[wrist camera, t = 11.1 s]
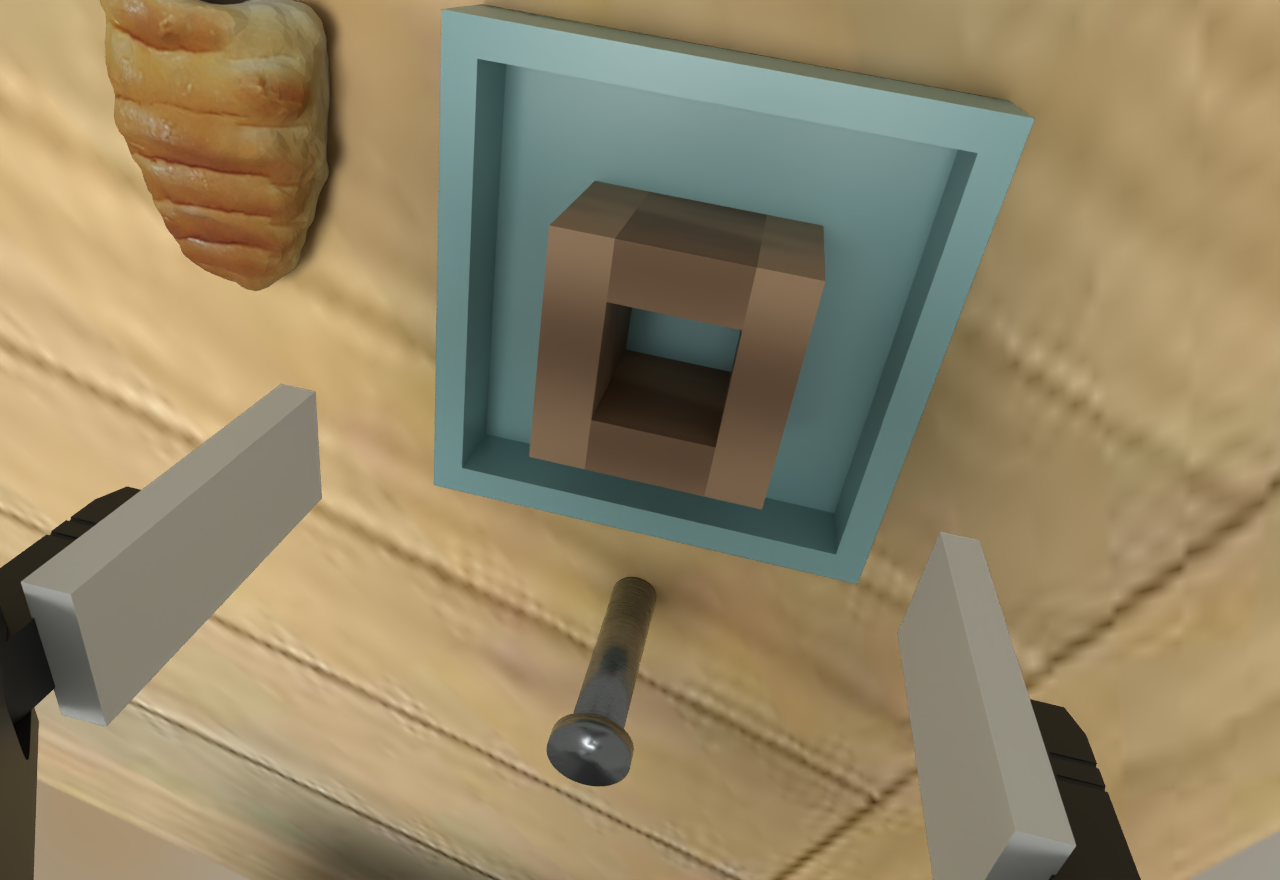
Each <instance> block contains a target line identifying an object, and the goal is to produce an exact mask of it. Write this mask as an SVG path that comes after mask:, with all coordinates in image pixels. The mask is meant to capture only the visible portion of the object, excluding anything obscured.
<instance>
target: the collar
mask: <svg viewBox="0 0 1280 880" xmlns="http://www.w3.org/2000/svg"><path fill="white" fill-rule="evenodd" d="M824 285H825V256H824V227H823V226H822V225H817V224H812V223H807V222H802V221H797V220H792V219H787V218H782V217H776V216H771V215H766V214H761V213H756V212H751V211H746V210H741V209H736V208H731V207H726V206H720V205H715V204H710V203H705V202H700V201H695V200H690V199H685V198H680V197H675V196H670V195H665V194H659V193H654V192H649V191H644V190H639V189H634V188H629V187H624V186H619V185H614V184H609V183H603V182H598V181H594V182H593V183H592V184H591V185H590V186H589V187H588V188H587V189H586V190H585V191H584V192H583V193H582V194H581V195H580V196H579V197H578V198H577V199H576V200H575V201H574V202H573V203H572V204H571V205H570V206H569V207H568V208H567V209H566V210H565V211H563V212H562V213H561V214H560V215H559V216H558V217H557V218H556V219H555V220H554V221H553V222H552V223H551V224H550V225H549V234H548V245H547V257H546V268H545V280H544V291H543V303H542V314H541V326H540V337H539V349H538V360H537V372H536V383H535V395H534V407H533V418H532V430H531V441H530V453H529V457H532V458H537V459H541V460H545V461H550V462H554V463H559V464H563V465H567V466H572V467H576V468H581V469H585V470H589V471H594V472H598V473H603V474H607V475H612V476H616V477H620V478H625V479H629V480H634V481H638V482H642V483H647V484H651V485H656V486H660V487H664V488H669V489H673V490H678V491H682V492H686V493H691V494H695V495H700V496H704V497H708V498H713V499H717V500H722V501H726V502H730V503H735V504H739V505H744V506H748V507H752V508H757V509H761V510H762V508H763V504H764V500H765V497H766V493H767V490H768V486H769V482H770V479H771V475H772V472H773V468H774V464H775V461H776V457H777V454H778V450H779V447H780V443H781V439H782V436H783V432H784V429H785V425H786V421H787V418H788V414H789V411H790V407H791V403H792V400H793V396H794V393H795V389H796V385H797V382H798V378H799V375H800V371H801V367H802V364H803V360H804V357H805V353H806V349H807V346H808V342H809V339H810V335H811V331H812V328H813V324H814V321H815V317H816V313H817V310H818V306H819V303H820V299H821V295H822V292H823V288H824ZM632 307H633V308H637V309H642V310H647V311H652V312H656V313H661V314H666V315H671V316H676V317H680V318H685V319H690V320H695V321H700V322H704V323H709V324H714V325H719V326H723V327H728V328H733V329H738V330H741V331H740V335H739V339H738V344H737V348H736V353H735V357H734V361H733V366H732V370H731V372H729V371H724V370H720V369H715V368H710V367H706V366H701V365H696V364H692V363H687V362H682V361H678V360H673V359H668V358H664V357H659V356H654V355H649V354H645V353H640V352H635V351H631V350H626V345H627V338H628V332H629V325H630V318H631V311H632Z"/></svg>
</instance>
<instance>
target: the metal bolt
mask: <svg viewBox="0 0 1280 880" xmlns="http://www.w3.org/2000/svg"><path fill="white" fill-rule="evenodd" d="M655 602H656V593H655V590H654V589H653V587H652V586H651V585H650V584H649V583H647V582H646V581H644V580H642V579H639V578H624V579H622V580H620V581H619V582H617V583H616V585H615V586H614V589H613V592H612V595H611V598H610V602H609V605H608V608H607V611H606V614H605V617H604V620H603V623H602V626H601V629H600V633H599V636H598V639H597V642H596V645H595V648H594V651H593V654H592V657H591V660H590V664H589V667H588V670H587V673H586V676H585V679H584V682H583V685H582V688H581V691H580V695H579V698H578V701H577V704H576V707H575V710H574V713H573V714H570V715H567V716H565V717H563V718H561V719H560V720H559V721H557V722H556V724H555V725H554V727H553V729H552V732H551V735H550V738H549V741H548V744H547V755H548V758H549V760H550V762H551V763H552V765H553V766H554V767H555V768H556V769H557V770H558V771H559V772H560V773H561V774H563V775H564V776H566V777H567V778H569V779H571V780H573V781H575V782H578V783H581V784H585V785H590V786H608V785H612V784H615V783H618V782H619V781H621V780H622V779H624V778H625V777H626V775H627V774H628V772H629V769H630V765H631V761H632V756H633V751H634V747H633V742H632V740H631V738H630V736H629V735H628V733H627V732H626V731H625V730H624V726H625V722H626V718H627V714H628V710H629V706H630V702H631V698H632V694H633V690H634V686H635V682H636V678H637V674H638V670H639V666H640V662H641V658H642V654H643V650H644V646H645V642H646V638H647V634H648V630H649V626H650V622H651V618H652V614H653V610H654V606H655Z"/></svg>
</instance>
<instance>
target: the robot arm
mask: <svg viewBox="0 0 1280 880" xmlns="http://www.w3.org/2000/svg"><path fill="white" fill-rule="evenodd" d="M321 499H322V493H321V476H320V459H319V442H318V425H317V408H316V391H311V390H307V389H302V388H298V387H293V386H289V385H284V384H280V385H279V386H278V387H276V388H275V389H274V390H273V391H271V392H270V393H269V394H267V395H266V396H265V397H263V398H262V399H261V400H259V401H258V402H257V403H255V404H254V405H253V406H251V407H250V408H249V409H247V410H246V411H245V412H244V413H242V414H241V415H240V416H238V417H237V418H236V419H234V420H233V421H232V422H230V423H229V424H228V425H226V426H225V427H224V428H222V429H221V430H220V431H219V432H217V433H216V434H215V435H213V436H212V437H211V438H209V439H208V440H207V441H205V442H204V443H203V444H201V445H200V446H199V447H197V448H196V449H195V450H194V451H192V452H191V453H190V454H188V455H187V456H186V457H184V458H183V459H182V460H180V461H179V462H178V463H176V464H175V465H174V466H172V467H171V468H170V469H168V470H167V471H166V472H165V473H163V474H162V475H161V476H159V477H158V478H157V479H155V480H154V481H153V482H151V483H150V484H149V485H147V486H146V487H145V488H143V489H142V490H139V489H135V488H131V487H125V488H122V489H120V490H117V491H115V492H112V493H110V494H108V495H105V496H103V497H100V498H98V499H95V500H94V501H92V502H91V503H90V504H88V505H87V506H86V507H84V508H83V509H81V510H80V511H79V512H77V513H76V514H74V515H73V516H72V517H71V520H70V521H67V520H66V521H65V522H63V523H62V524H61V525H59V526H58V527H56V528H55V529H54V530H52V533H51V535H45V536H44V537H43V538H41V539H40V540H39V541H37V542H36V543H34V544H33V545H32V546H30V547H29V548H27V549H26V550H25V551H23V552H22V553H21V554H19V555H18V556H16V557H15V558H14V559H12V560H11V561H9V562H8V563H7V564H5V565H4V566H3V567H1V568H0V880H33V878H34V848H35V847H34V846H35V818H36V788H37V786H36V785H37V758H38V728H39V721H38V718H37V714H36V711H35V708H34V707H35V706H36V705H37V704H38V703H39V702H40V701H41V700H42V699H43V698H45V697H46V696H47V695H48V694H49V693H50V692H51V691H52V690H53V689H54V692H55V695H56V698H57V701H58V705H59V708H60V711H61V714H62V715H64V716H68V717H71V718H75V719H79V720H83V721H87V722H90V723H94V724H98V725H102V726H106V727H107V726H108V725H109V723H110V722H111V721H112V720H113V719H114V718H115V717H116V716H117V715H118V714H119V713H120V712H121V711H122V710H123V709H124V708H125V707H126V705H127V704H128V703H129V702H130V701H131V700H132V699H133V698H134V697H135V696H136V695H137V694H138V693H139V692H140V691H141V690H142V688H143V687H144V686H145V685H146V684H147V683H148V682H149V681H150V680H151V679H152V678H153V677H154V676H155V675H156V674H157V673H158V672H159V670H160V669H161V668H162V667H163V666H164V665H165V664H166V663H167V662H168V661H169V660H170V659H171V658H172V657H173V656H174V655H175V653H176V652H177V651H178V650H179V649H180V648H181V647H182V646H183V645H184V644H185V643H186V642H187V641H188V640H189V639H190V638H191V637H192V635H193V634H194V633H195V632H196V631H197V630H198V629H199V628H200V627H201V626H202V625H203V624H204V623H205V622H206V621H207V620H208V618H209V617H210V616H211V615H212V614H213V613H214V612H215V611H216V610H217V609H218V608H219V607H220V606H221V605H222V604H223V603H224V602H225V600H226V599H227V598H228V597H229V596H230V595H231V594H232V593H233V592H234V591H235V590H236V589H237V588H238V587H239V586H240V585H241V583H242V582H243V581H244V580H245V579H246V578H247V577H248V576H249V575H250V574H251V573H252V572H253V571H254V570H255V569H256V568H257V566H258V565H259V564H260V563H261V562H262V561H263V560H264V559H265V558H266V557H267V556H268V555H269V554H270V553H271V552H272V551H273V550H274V548H275V547H276V546H277V545H278V544H279V543H280V542H281V541H282V540H283V539H284V538H285V537H286V536H287V535H288V534H289V533H290V531H291V530H292V529H293V528H294V527H295V526H296V525H297V524H298V523H299V522H300V521H301V520H302V519H303V518H304V517H305V516H306V515H307V513H308V512H309V511H310V510H311V509H312V508H313V507H314V506H315V505H316V504H317V503H318V502H319V501H320V500H321ZM898 640H899V647H900V654H901V661H902V668H903V675H904V681H905V688H906V695H907V702H908V709H909V716H910V723H911V730H912V737H913V744H914V750H915V757H916V764H917V771H918V778H919V785H920V792H921V799H922V806H923V813H924V820H925V826H926V833H927V840H928V847H929V854H930V861H931V868H932V875H933V880H1141V879H1140V877H1139V874H1138V871H1137V869H1136V866H1135V863H1134V861H1133V858H1132V856H1131V853H1130V850H1129V848H1128V845H1127V842H1126V840H1125V837H1124V834H1123V832H1122V829H1121V826H1120V824H1119V821H1118V818H1117V816H1116V813H1115V810H1114V808H1113V805H1112V803H1111V800H1110V797H1109V795H1108V792H1105V784H1104V781H1103V779H1102V776H1101V773H1100V771H1099V769H1097V768H1096V764H1097V763H1096V760H1095V757H1094V755H1093V752H1092V749H1091V747H1090V744H1089V742H1088V739H1087V736H1086V734H1085V733H1084V732H1083V731H1082V729H1081V728H1080V727H1079V726H1078V724H1077V723H1076V722H1075V721H1074V719H1073V718H1072V717H1071V715H1070V714H1069V713H1068V712H1067V710H1066V709H1065V708H1064V707H1060V706H1056V705H1052V704H1047V703H1043V702H1039V701H1035V700H1031V699H1030V698H1029V695H1028V692H1027V689H1026V686H1025V682H1024V679H1023V676H1022V673H1021V670H1020V667H1019V664H1018V660H1017V657H1016V654H1015V651H1014V648H1013V645H1012V641H1011V638H1010V635H1009V632H1008V629H1007V626H1006V623H1005V619H1004V616H1003V613H1002V610H1001V607H1000V604H999V600H998V597H997V594H996V591H995V588H994V585H993V582H992V578H991V575H990V572H989V569H988V566H987V563H986V559H985V556H984V553H983V550H982V547H981V544H980V541H979V540H977V539H972V538H968V537H963V536H959V535H954V534H950V533H945V532H941V531H940V534H939V536H938V539H937V541H936V543H935V546H934V548H933V550H932V553H931V555H930V557H929V560H928V562H927V565H926V567H925V569H924V572H923V574H922V576H921V579H920V581H919V583H918V586H917V588H916V591H915V593H914V595H913V598H912V600H911V602H910V605H909V607H908V610H907V612H906V614H905V617H904V619H903V621H902V624H901V626H900V628H899V631H898Z"/></svg>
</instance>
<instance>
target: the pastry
mask: <svg viewBox="0 0 1280 880" xmlns="http://www.w3.org/2000/svg"><path fill="white" fill-rule="evenodd" d="M100 3H101V6H102V8H103V9H104V11H105V13H106V38H105V50H106V65H107V70H108V76H109V79H110V81H111V83H112V86H113V88H114V92H115V109H114V117H115V123H116V126H117V128H118V130H119V132H120V133H121V134H122V135H123V136H124V138H125V140H126V142H127V144H128V147H129V150H130V153H131V155H132V158H133V159H134V161H135V162H136V163H137V164H138V165H139V167H140V168H141V170H142V173H143V177H144V180H145V182H146V185H147V188H148V191H149V192H150V193H151V194H152V196H153V201H154V204H155V206H156V207H157V209H158V211H159V212H160V214H161V216H162V217H163V220H164V222H165V225H166V227H167V229H168V230H169V232H170V233H171V234H172V235H173V236H174V238H175V239H176V241H177V242H178V243H179V245H180V247H181V250H182V252H183V254H184V255H185V256H186V257H187V258H189V259H190V260H191V261H192V262H194V263H195V264H196V265H198V266H200V267H201V268H203V269H204V270H205V271H208V272H210V273H212V274H215V275H217V276H220V277H222V278H224V279H227V280H230V281H234V282H237V283H238V284H239V285H240V286H242V287H244V288H246V289H248V290H254V291H258V290H262V289H264V288H266V287H269V286H270V285H272V284H273V283H274V282H276V281H277V280H279V279H280V278H281V277H283V276H285V275H286V274H288V273H289V272H291V271H292V270H294V269H295V268H296V266H297V265H298V263H299V260H300V253H301V249H302V247H303V245H304V243H305V240H306V233H307V230H308V228H309V226H310V225H311V223H312V222H313V220H314V217H315V209H316V204H317V200H318V196H319V194H320V192H321V190H322V187H323V185H324V183H325V182H326V180H327V179H328V176H329V167H328V163H327V161H326V153H327V150H326V146H327V140H328V134H327V125H328V111H329V105H330V91H329V89H330V81H329V60H328V53H327V49H326V44H327V42H326V35H325V32H324V28H323V24H322V21H321V19H320V17H319V16H318V15H317V14H316V13H315V12H314V10H313V9H312V8H311V7H310V6H308V5H306V4H304V3H301V2H297V1H293V0H100Z"/></svg>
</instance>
